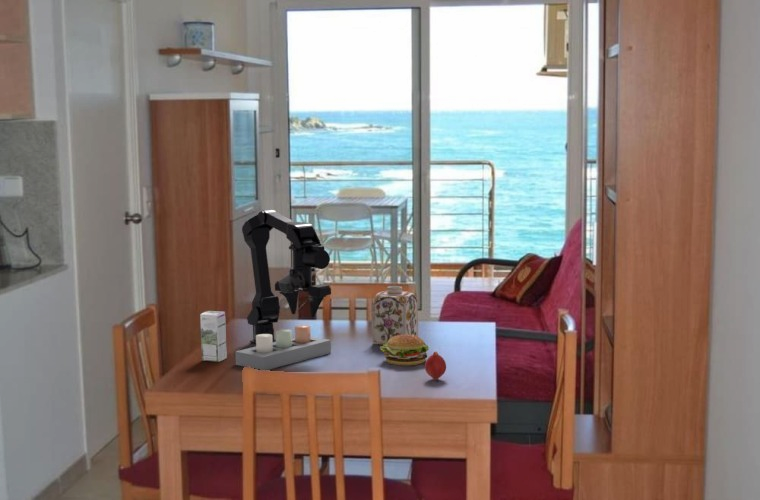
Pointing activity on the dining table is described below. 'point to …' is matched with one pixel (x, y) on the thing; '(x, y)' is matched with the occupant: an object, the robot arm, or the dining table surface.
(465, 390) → the dining table surface
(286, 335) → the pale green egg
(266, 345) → the cream rounded tapered piece
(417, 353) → the food
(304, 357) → the grey holder tray
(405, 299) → the decorative jar
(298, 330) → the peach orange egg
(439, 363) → the onion
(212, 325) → the syrup box
